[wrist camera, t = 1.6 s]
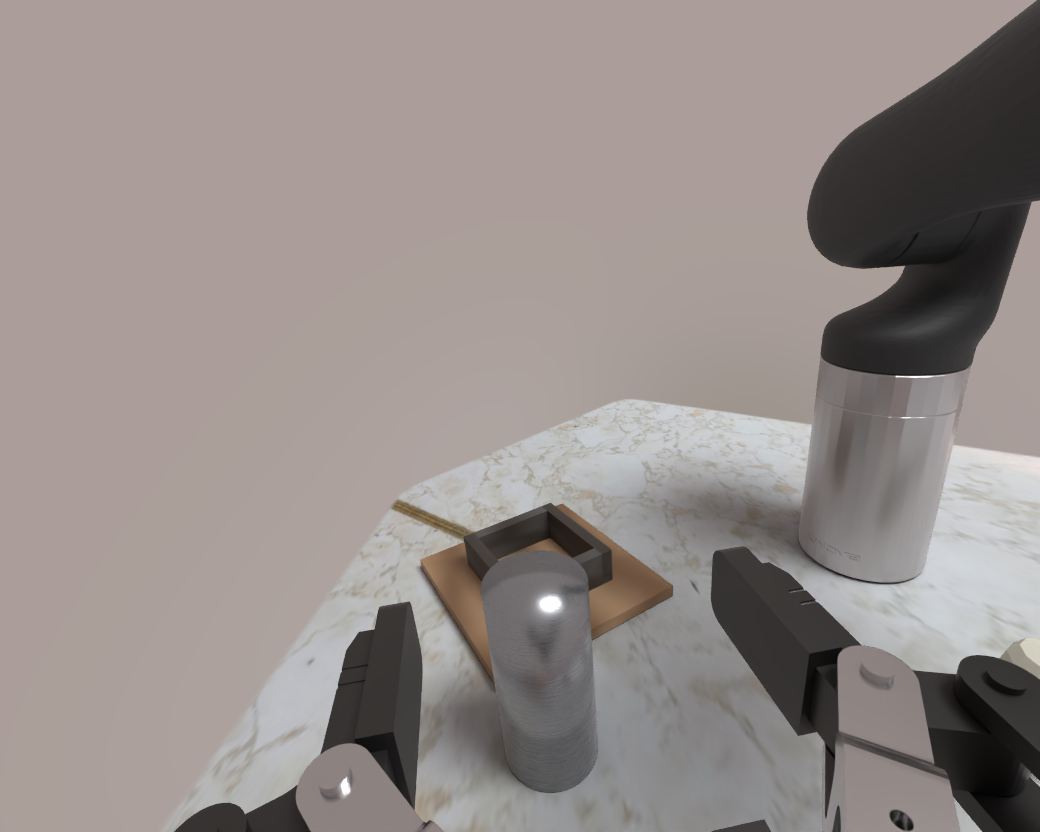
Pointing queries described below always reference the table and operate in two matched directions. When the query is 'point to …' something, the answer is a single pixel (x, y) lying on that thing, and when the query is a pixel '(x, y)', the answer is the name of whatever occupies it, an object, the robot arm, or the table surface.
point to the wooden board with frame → (610, 569)
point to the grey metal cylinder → (542, 666)
